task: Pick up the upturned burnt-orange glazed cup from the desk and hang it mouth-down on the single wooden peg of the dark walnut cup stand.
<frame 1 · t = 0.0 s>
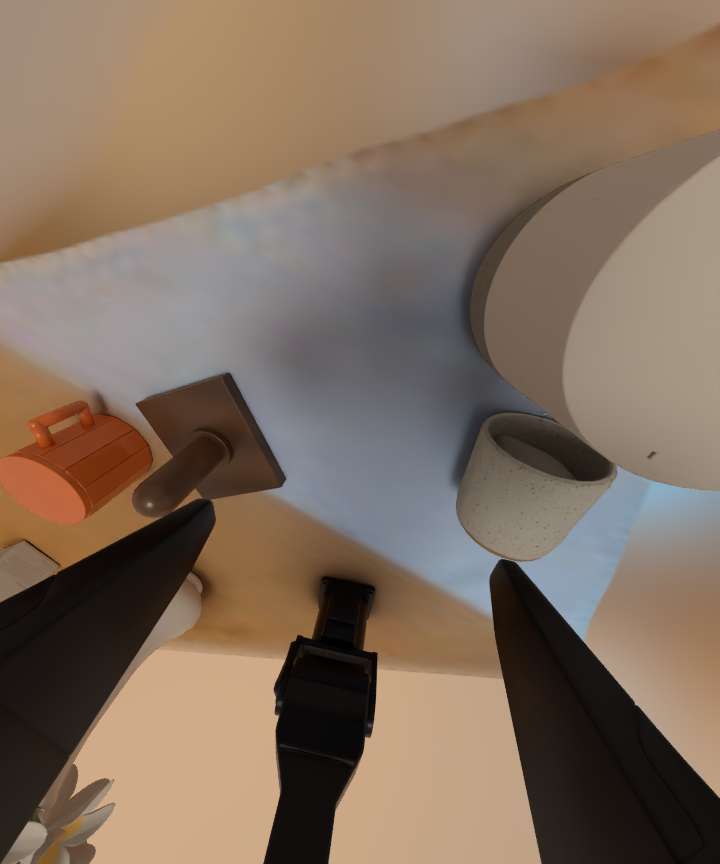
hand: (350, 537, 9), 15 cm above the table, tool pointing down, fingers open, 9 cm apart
flower vase: (187, 581, 40), on the table
cup stand: (219, 440, 27), on the table
product box: (34, 555, 42), on the table
orange cup: (117, 446, 29), on the table
ceramic mug: (522, 455, 23), on the table
smart speaker: (540, 291, 18), on the table
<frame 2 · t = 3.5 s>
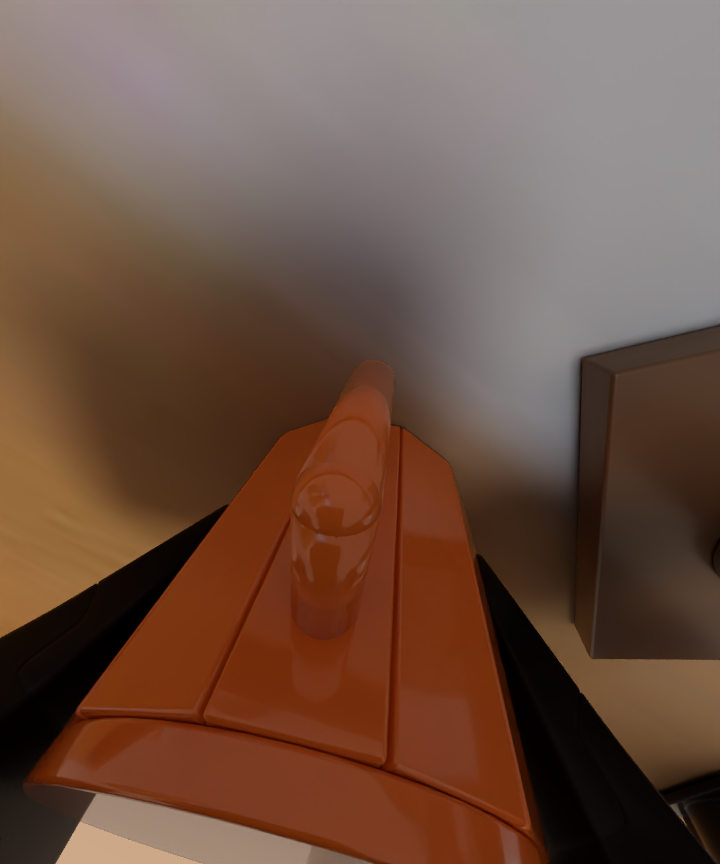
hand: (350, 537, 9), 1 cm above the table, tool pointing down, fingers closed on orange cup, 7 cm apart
orange cup: (355, 508, 10), on the table, touching gripper
when the fingers open (4 cm above the table, at t = 9.3 s): orange cup stays where it is, resting on cup stand.
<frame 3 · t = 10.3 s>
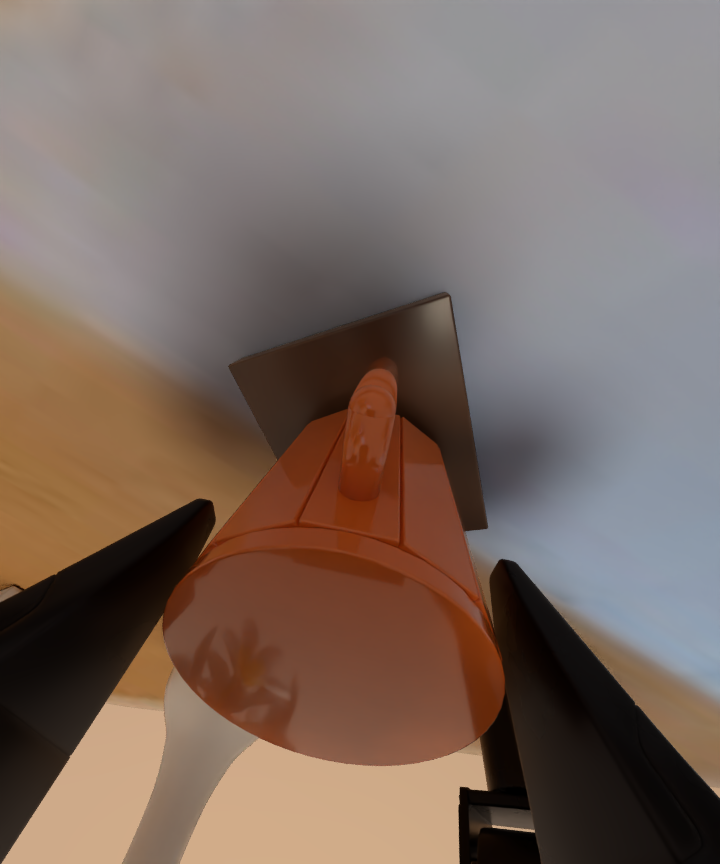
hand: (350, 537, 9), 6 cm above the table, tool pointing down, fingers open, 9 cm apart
flower vase: (251, 646, 27), on the table
cup stand: (372, 441, 14), on the table
orange cup: (363, 487, 12), point 3 cm above the table, tilted 7°, touching cup stand
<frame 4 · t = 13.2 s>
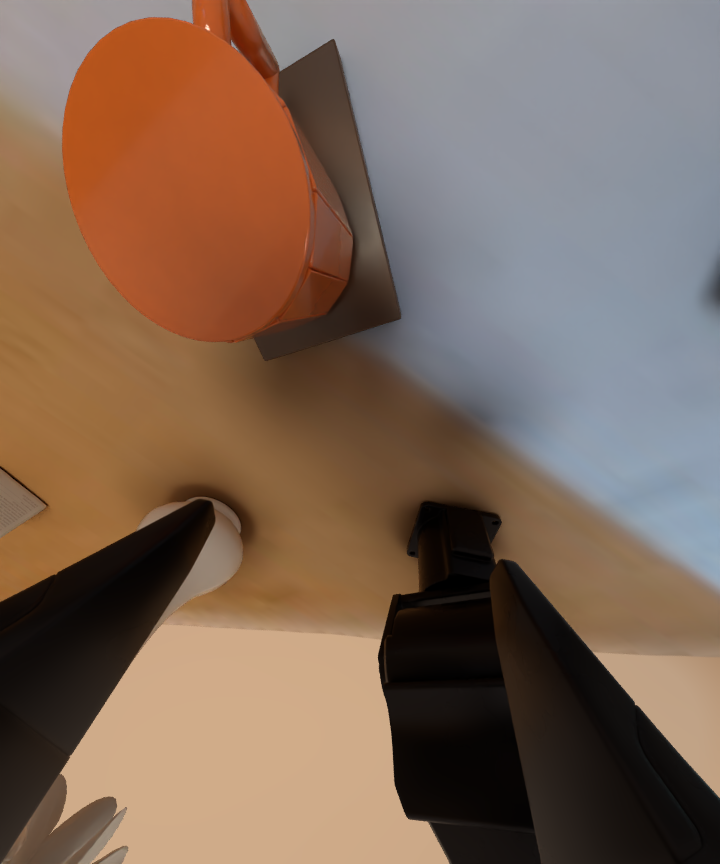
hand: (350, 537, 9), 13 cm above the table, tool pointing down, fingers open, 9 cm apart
flower vase: (219, 522, 29), on the table
cup stand: (298, 239, 16), on the table
product box: (14, 492, 32), on the table
orange cup: (281, 249, 14), point 3 cm above the table, tilted 5°, touching cup stand
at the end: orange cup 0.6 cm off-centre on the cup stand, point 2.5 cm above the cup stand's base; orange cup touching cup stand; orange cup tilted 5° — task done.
